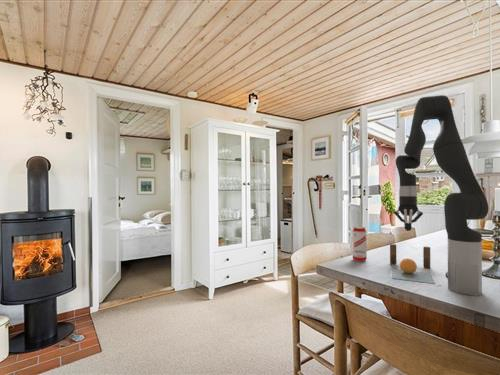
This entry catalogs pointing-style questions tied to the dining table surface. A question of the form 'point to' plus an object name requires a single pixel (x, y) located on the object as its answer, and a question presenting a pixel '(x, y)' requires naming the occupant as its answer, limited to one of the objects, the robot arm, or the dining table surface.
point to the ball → (408, 266)
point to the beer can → (359, 244)
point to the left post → (393, 254)
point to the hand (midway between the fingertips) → (408, 230)
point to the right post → (426, 257)
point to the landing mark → (413, 276)
